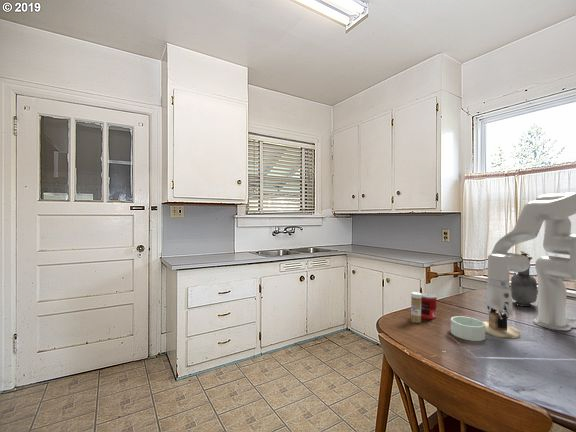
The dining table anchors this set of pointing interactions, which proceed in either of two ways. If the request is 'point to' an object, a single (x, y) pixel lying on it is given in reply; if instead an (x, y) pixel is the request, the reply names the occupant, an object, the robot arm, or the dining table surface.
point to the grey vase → (524, 287)
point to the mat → (521, 338)
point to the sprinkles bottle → (416, 307)
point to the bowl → (468, 328)
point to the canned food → (428, 306)
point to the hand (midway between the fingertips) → (497, 325)
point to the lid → (493, 329)
